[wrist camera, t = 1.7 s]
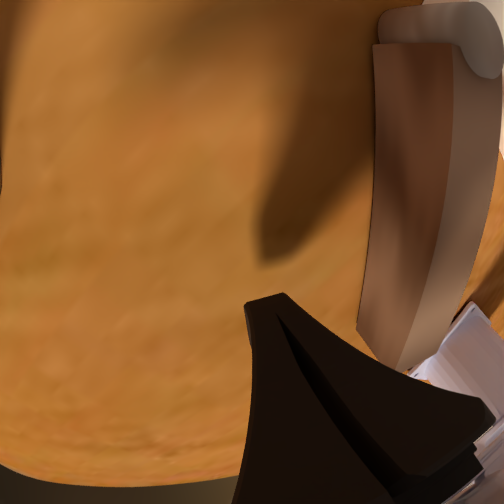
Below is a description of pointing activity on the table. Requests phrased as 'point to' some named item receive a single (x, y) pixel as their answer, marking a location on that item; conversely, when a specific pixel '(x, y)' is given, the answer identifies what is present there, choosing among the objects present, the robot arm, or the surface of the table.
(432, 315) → the folding leg
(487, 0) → the stool seat
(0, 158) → the cork
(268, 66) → the table surface
